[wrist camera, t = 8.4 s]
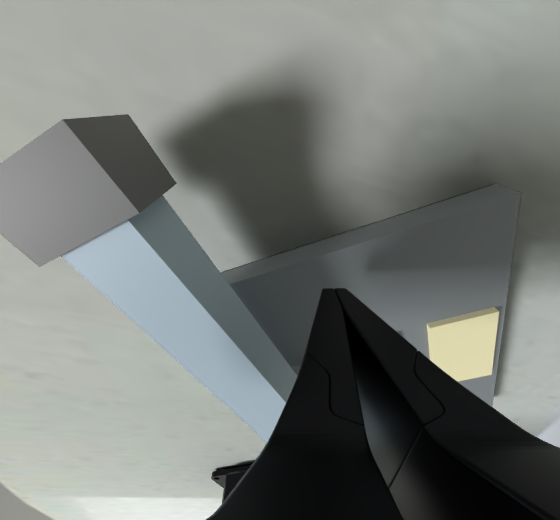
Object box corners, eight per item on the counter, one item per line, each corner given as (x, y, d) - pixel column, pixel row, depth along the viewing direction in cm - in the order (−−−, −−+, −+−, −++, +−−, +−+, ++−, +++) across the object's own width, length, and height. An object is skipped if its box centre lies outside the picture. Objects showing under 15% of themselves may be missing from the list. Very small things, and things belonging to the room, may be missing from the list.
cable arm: (334, 409, 14) (343, 460, 12) (283, 422, 15) (284, 472, 13) (128, 114, 7) (63, 119, 5) (44, 170, 7) (-46, 195, 5)
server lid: (478, 398, 18) (499, 429, 16) (305, 431, 20) (307, 461, 18) (496, 183, 10) (541, 200, 8) (205, 277, 12) (194, 306, 10)
